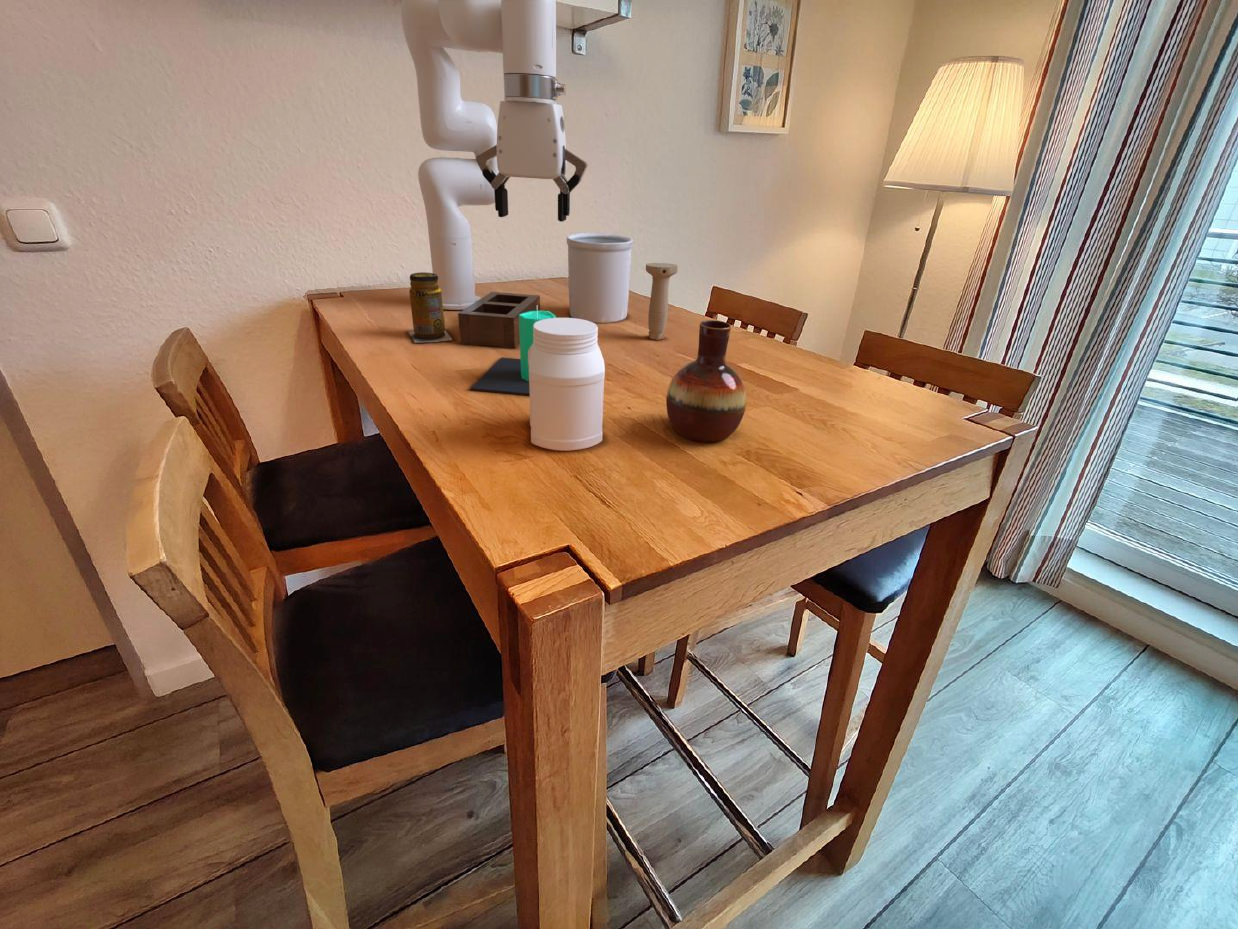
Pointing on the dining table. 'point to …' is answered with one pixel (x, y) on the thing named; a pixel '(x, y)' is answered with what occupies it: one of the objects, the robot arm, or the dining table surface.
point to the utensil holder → (599, 276)
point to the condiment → (427, 309)
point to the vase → (707, 390)
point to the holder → (495, 319)
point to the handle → (659, 297)
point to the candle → (529, 336)
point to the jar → (566, 384)
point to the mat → (503, 378)
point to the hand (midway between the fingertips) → (532, 218)
